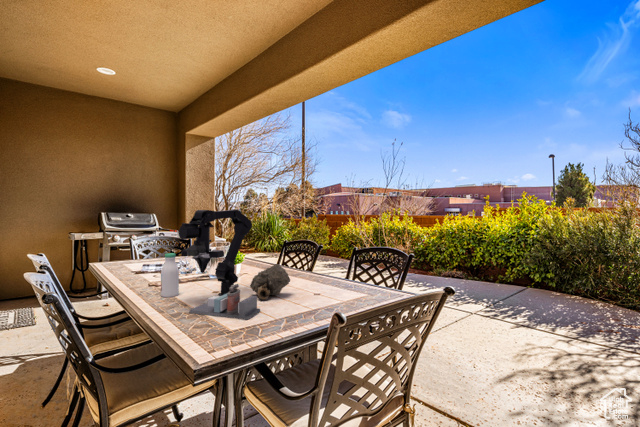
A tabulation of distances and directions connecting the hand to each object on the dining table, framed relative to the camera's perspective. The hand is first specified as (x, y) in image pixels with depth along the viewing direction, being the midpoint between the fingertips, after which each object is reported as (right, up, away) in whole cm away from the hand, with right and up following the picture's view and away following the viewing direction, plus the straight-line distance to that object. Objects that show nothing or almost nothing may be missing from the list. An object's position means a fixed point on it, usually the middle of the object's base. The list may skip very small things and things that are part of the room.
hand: (202, 272), depth 138 cm
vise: (+15, -13, -14) cm, 24 cm away
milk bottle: (-19, -13, +9) cm, 25 cm away
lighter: (+18, -12, -15) cm, 27 cm away
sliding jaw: (+12, -12, -14) cm, 22 cm away
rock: (+27, -14, +9) cm, 32 cm away
